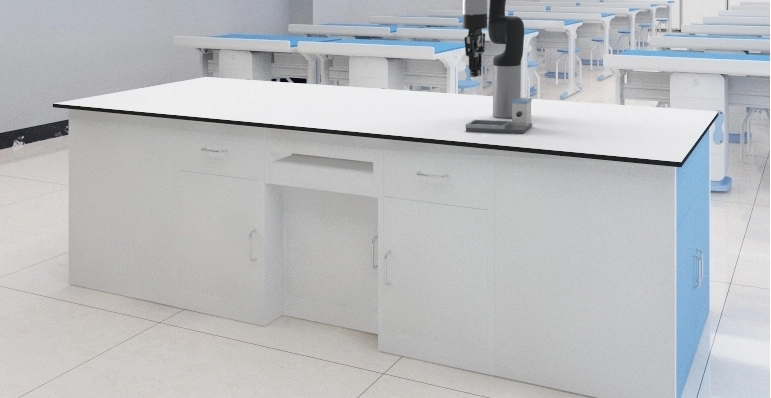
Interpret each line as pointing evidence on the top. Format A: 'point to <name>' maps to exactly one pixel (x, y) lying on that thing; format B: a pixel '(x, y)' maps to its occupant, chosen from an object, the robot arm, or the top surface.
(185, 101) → the top surface
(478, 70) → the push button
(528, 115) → the base
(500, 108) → the robot arm
